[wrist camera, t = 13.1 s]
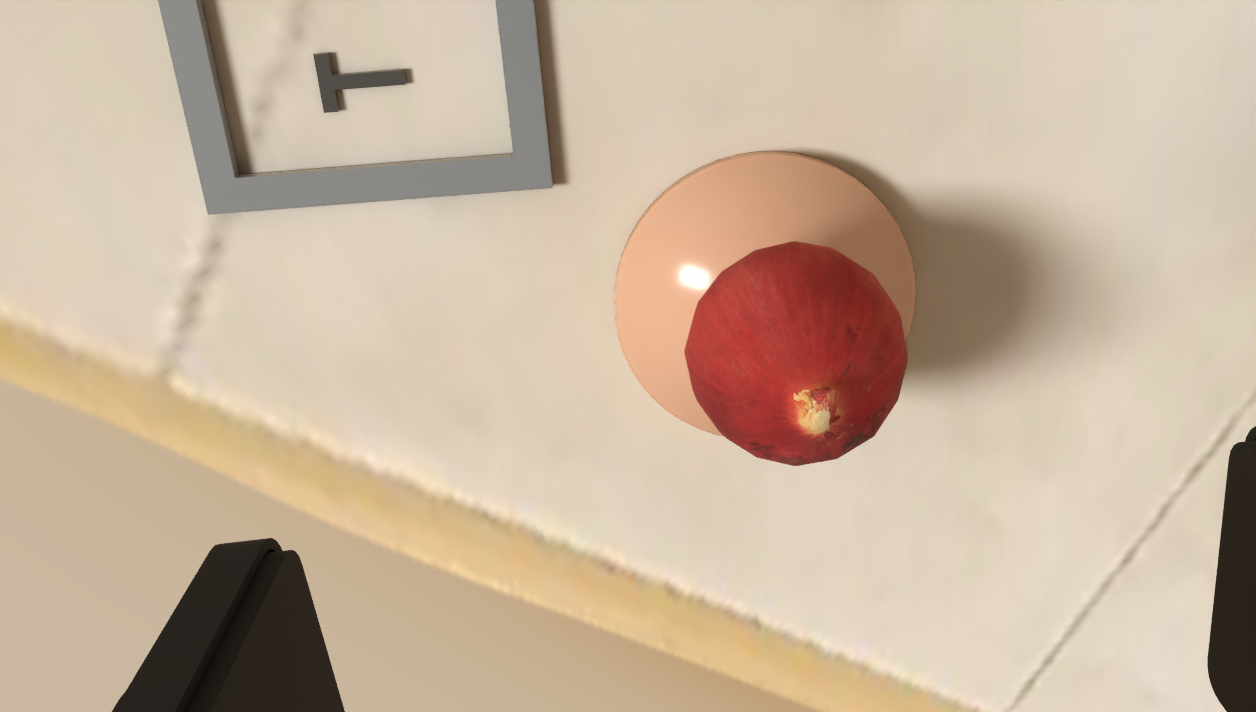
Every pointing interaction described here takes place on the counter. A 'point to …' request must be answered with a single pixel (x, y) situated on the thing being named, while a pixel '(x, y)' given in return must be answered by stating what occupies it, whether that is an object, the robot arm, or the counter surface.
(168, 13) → the frame
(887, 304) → the onion
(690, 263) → the disc
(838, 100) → the counter surface
